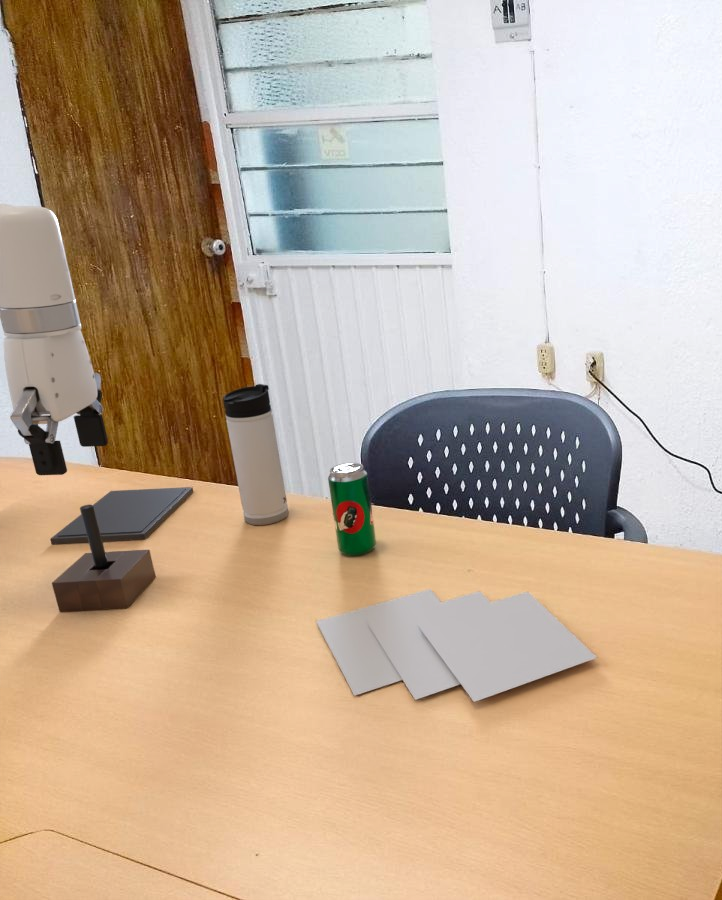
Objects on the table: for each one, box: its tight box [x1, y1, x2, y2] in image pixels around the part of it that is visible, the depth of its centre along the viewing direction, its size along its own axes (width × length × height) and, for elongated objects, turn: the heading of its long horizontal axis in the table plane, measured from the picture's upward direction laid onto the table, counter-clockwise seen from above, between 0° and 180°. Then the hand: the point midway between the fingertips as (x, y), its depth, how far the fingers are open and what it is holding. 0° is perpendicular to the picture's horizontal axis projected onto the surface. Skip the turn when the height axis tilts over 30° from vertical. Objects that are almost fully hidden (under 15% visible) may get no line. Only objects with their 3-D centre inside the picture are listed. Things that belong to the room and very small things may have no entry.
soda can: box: [327, 462, 377, 557], centre depth 112 cm, size 5×5×12 cm
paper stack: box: [315, 588, 598, 703], centre depth 92 cm, size 23×25×1 cm
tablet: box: [49, 486, 194, 545], centre depth 127 cm, size 13×18×1 cm
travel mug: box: [222, 383, 290, 526], centre depth 122 cm, size 6×7×20 cm
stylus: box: [79, 504, 109, 570], centre depth 102 cm, size 1×1×12 cm
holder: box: [51, 549, 157, 613], centre depth 103 cm, size 8×8×4 cm
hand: (74, 459), depth 100 cm, fingers open, 9 cm apart
